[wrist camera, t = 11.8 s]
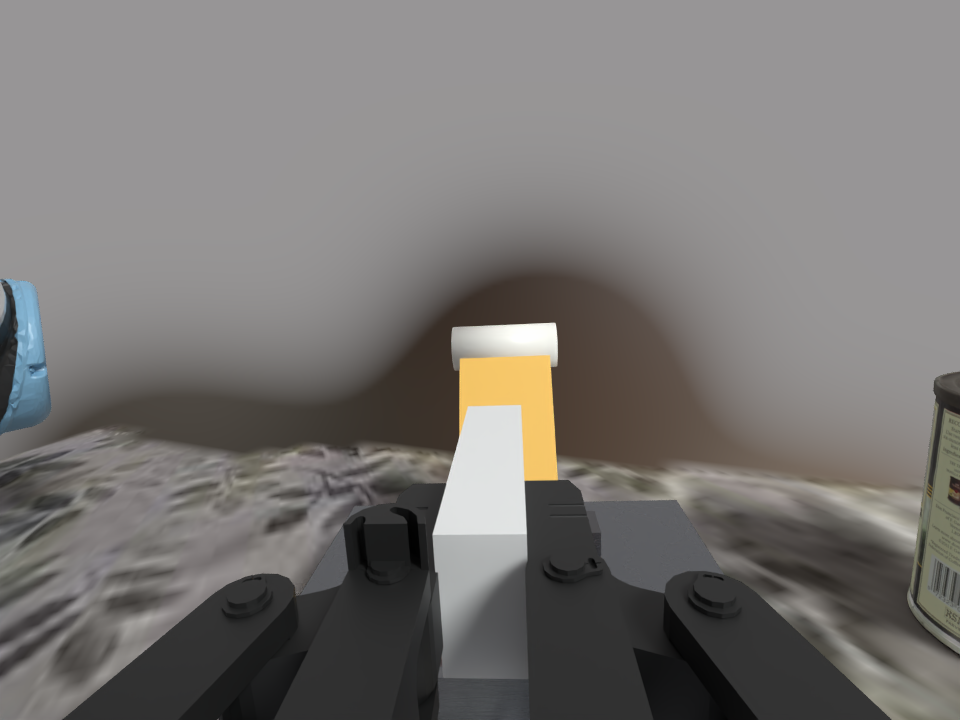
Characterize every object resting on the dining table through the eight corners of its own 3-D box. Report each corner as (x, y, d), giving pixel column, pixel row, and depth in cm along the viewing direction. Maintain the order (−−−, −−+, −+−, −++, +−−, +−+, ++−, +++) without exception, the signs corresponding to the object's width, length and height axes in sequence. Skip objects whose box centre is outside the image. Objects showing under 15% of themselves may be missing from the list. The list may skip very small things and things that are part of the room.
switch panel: (784, 756, 23) (796, 619, 21) (262, 746, 25) (240, 620, 23) (674, 549, 38) (677, 461, 37) (360, 552, 40) (350, 469, 39)
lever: (572, 561, 29) (555, 315, 34) (449, 562, 30) (451, 320, 35) (568, 560, 32) (553, 333, 37) (456, 561, 32) (457, 337, 38)
